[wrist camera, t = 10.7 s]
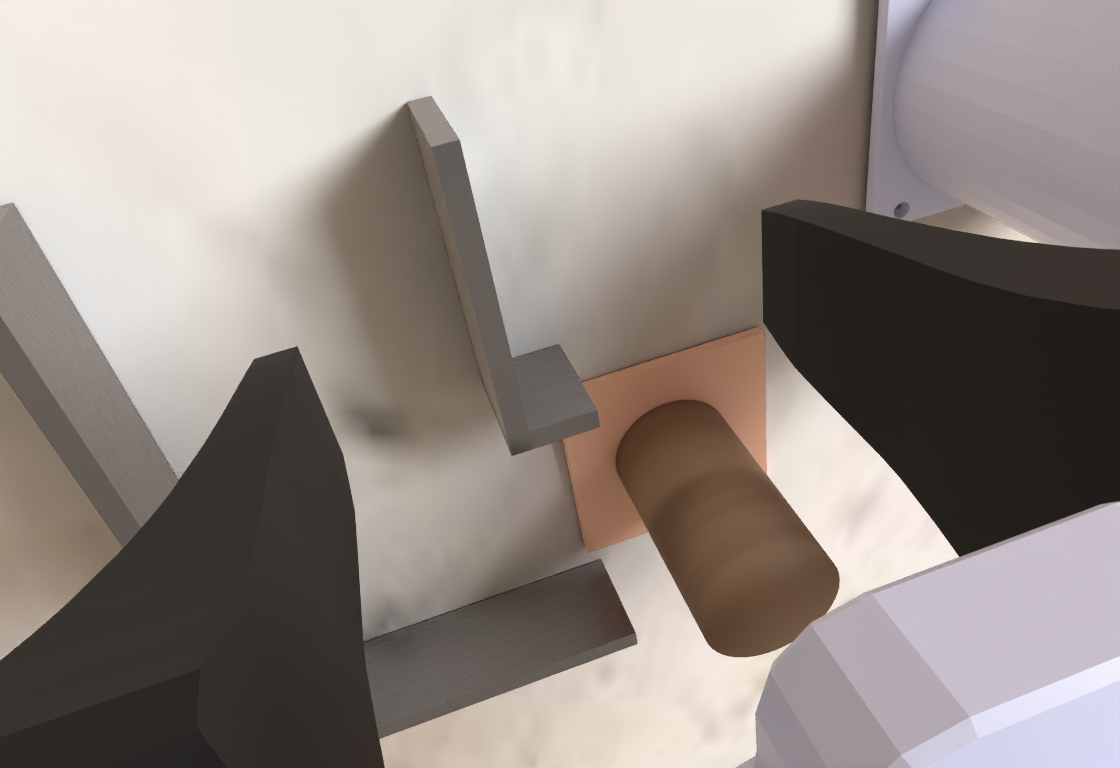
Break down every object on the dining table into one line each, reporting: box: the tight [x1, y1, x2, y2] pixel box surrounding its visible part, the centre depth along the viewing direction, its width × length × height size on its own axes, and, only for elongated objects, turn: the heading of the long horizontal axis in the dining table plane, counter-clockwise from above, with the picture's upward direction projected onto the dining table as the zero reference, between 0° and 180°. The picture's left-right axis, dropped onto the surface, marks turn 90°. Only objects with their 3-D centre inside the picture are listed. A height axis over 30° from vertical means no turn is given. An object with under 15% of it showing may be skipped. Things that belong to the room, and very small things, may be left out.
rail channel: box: [0, 96, 637, 739], centre depth 23 cm, size 12×18×4 cm
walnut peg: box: [616, 400, 840, 657], centre depth 25 cm, size 4×4×7 cm
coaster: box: [562, 327, 767, 553], centre depth 28 cm, size 7×7×1 cm
